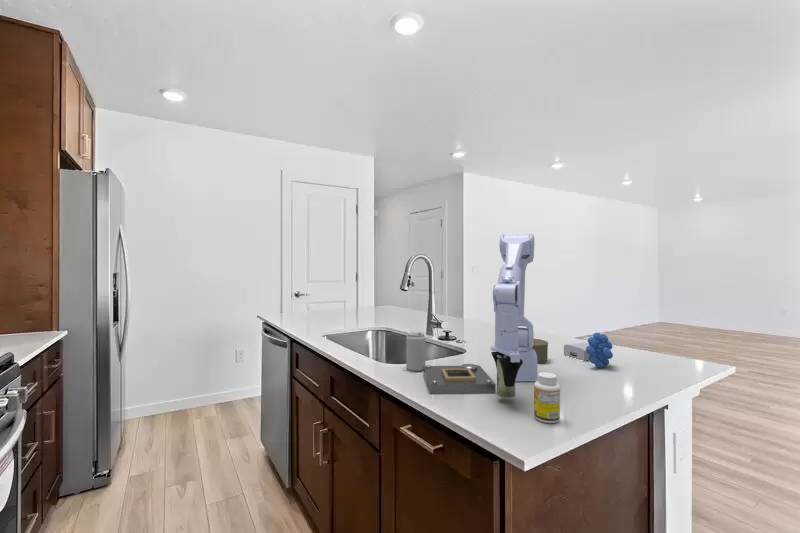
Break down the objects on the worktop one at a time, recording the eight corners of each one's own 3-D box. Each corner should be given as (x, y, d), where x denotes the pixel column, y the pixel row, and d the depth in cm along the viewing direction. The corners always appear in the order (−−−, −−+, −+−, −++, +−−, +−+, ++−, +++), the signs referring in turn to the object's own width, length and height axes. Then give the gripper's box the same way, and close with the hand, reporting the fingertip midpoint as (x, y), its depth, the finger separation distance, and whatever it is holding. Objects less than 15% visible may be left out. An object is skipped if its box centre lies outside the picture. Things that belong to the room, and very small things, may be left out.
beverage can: (424, 372, 123) (424, 335, 123) (404, 371, 125) (404, 334, 124) (426, 367, 130) (426, 331, 129) (408, 366, 131) (408, 331, 131)
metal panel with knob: (479, 373, 123) (479, 362, 123) (495, 393, 105) (495, 380, 105) (423, 373, 122) (423, 362, 122) (429, 393, 104) (429, 381, 104)
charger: (613, 358, 142) (583, 362, 136) (592, 352, 151) (563, 356, 145) (613, 345, 142) (584, 349, 136) (592, 340, 151) (563, 343, 145)
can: (548, 366, 131) (548, 346, 131) (511, 363, 135) (511, 343, 135) (548, 357, 142) (548, 339, 142) (514, 355, 146) (514, 337, 146)
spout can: (512, 391, 101) (512, 352, 101) (518, 397, 97) (518, 356, 96) (494, 391, 101) (494, 352, 101) (499, 397, 96) (499, 357, 96)
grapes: (598, 373, 123) (598, 336, 122) (580, 367, 129) (581, 332, 129) (623, 369, 127) (623, 333, 127) (604, 364, 134) (605, 329, 133)
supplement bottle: (539, 412, 92) (539, 369, 92) (563, 418, 88) (563, 374, 88) (530, 419, 88) (530, 375, 87) (555, 426, 84) (555, 380, 84)
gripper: (483, 325, 105) (483, 374, 106) (499, 336, 91) (498, 393, 91) (509, 325, 106) (508, 374, 106) (528, 335, 91) (528, 392, 92)
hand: (506, 382), depth 99 cm, fingers closed on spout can, 5 cm apart
